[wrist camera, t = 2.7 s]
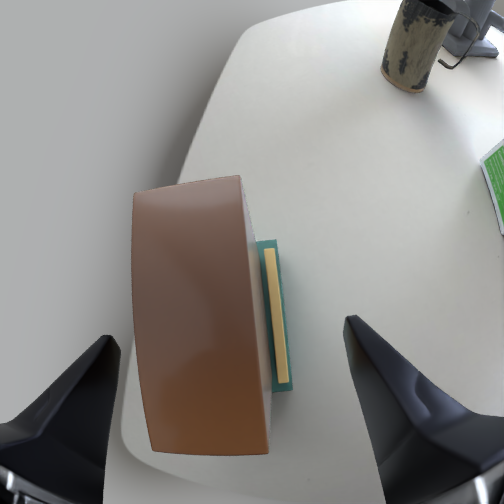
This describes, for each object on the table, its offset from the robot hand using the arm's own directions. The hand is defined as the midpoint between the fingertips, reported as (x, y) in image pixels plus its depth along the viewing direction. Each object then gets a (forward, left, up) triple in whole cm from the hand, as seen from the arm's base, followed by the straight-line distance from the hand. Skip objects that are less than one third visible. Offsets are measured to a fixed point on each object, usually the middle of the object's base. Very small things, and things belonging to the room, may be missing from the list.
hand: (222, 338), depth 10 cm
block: (+1, 0, -6) cm, 6 cm away
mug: (+26, -16, -9) cm, 32 cm away
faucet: (+41, -34, -9) cm, 54 cm away
